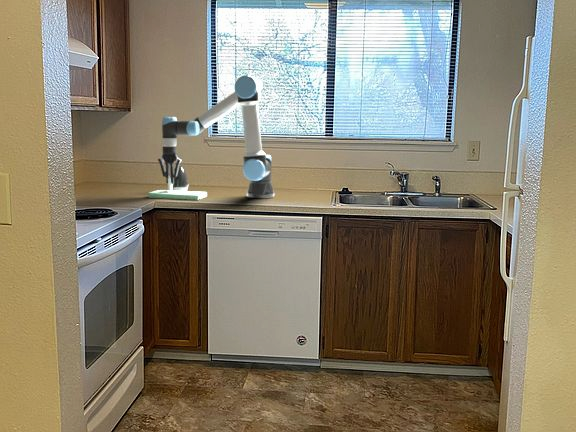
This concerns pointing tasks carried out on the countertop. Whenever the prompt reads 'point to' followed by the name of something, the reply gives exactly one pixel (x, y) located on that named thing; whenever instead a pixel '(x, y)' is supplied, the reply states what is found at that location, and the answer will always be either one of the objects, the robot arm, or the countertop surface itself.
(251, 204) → the countertop surface
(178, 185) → the dark grey egg shape
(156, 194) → the green
